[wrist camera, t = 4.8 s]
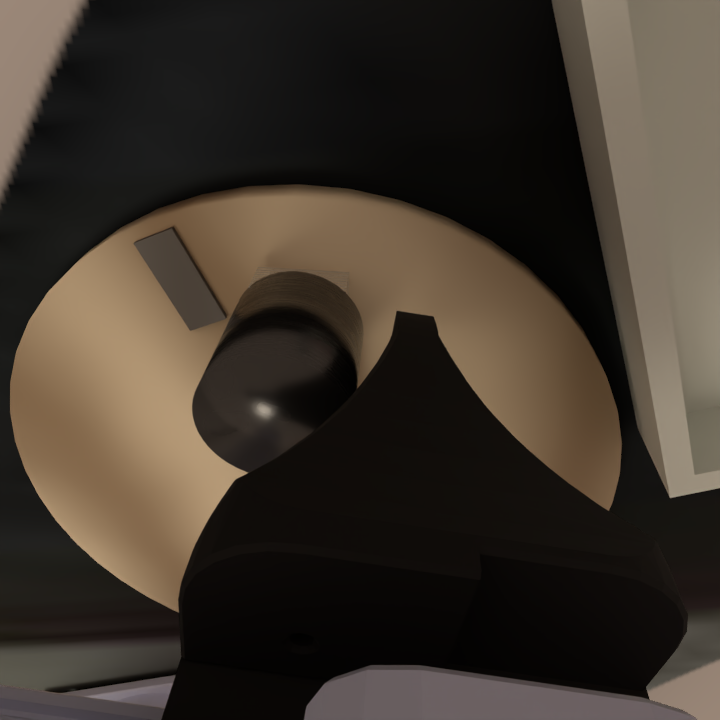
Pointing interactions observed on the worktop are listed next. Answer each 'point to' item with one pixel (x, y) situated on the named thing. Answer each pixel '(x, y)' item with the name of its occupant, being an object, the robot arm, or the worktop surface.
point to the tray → (657, 209)
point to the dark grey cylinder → (279, 365)
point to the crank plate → (207, 323)
